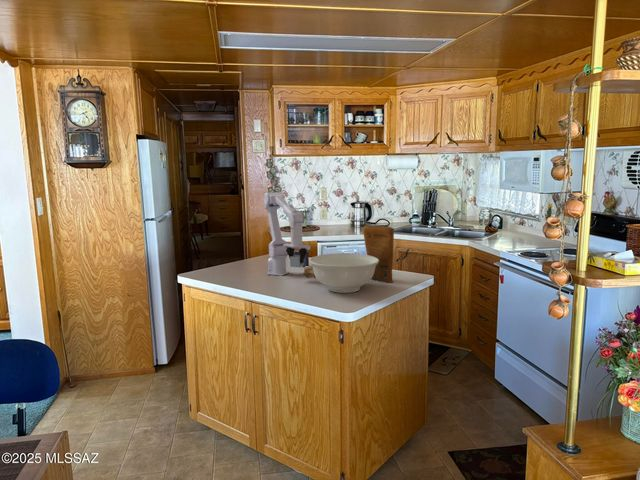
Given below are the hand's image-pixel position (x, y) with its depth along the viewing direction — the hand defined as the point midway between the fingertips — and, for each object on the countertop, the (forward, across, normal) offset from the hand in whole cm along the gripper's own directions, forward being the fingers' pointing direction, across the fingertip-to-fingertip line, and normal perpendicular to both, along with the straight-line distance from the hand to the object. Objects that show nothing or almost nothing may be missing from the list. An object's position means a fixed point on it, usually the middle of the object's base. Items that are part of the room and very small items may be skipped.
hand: (296, 262), depth 240 cm
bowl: (+9, +28, -6) cm, 30 cm away
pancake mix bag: (+9, +38, +17) cm, 43 cm away
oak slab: (+7, +2, +12) cm, 14 cm away
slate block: (+2, 0, 0) cm, 2 cm away
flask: (+10, -14, +32) cm, 36 cm away
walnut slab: (+10, +2, +12) cm, 15 cm away
